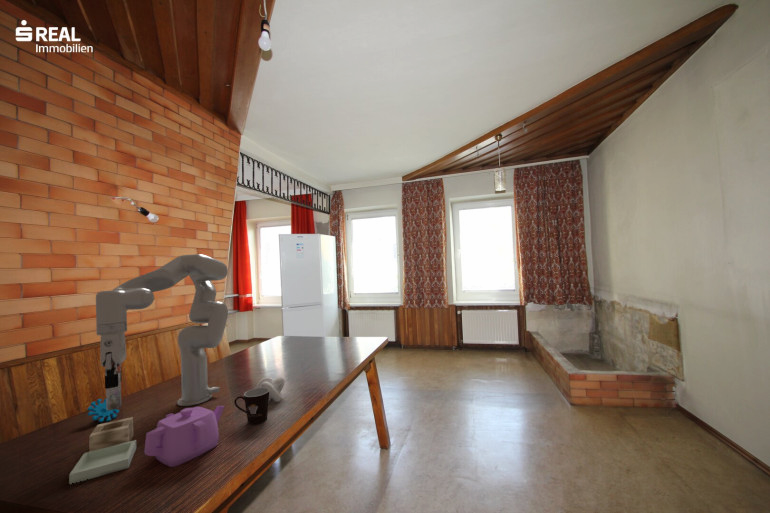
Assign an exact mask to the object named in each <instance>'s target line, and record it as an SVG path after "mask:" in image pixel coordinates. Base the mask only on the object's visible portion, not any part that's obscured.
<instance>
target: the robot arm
mask: <svg viewBox="0 0 770 513" xmlns="http://www.w3.org/2000/svg"><path fill="white" fill-rule="evenodd" d="M228 270H229V268H228V267H227V265H226V264H225V263H224V262H223V261H221V260H218V259H216V258H213V257H211V256H209V255H206V254H200V253H199V254H197V253H196V254H183V255H180V256H177V257H176V258H173V259H172V260H171V261H169V262H167V263H165V264H164V265H162V266H160V267H159V268H157V269H155V270H152V271H150V272H147V273H145V274H142V275H140V276H137V277H134V278H131V279H130V280H127V281H125V282H123V283H121V284H120V285H117V286H116V287H115V288H113V289H112V290H111V289H110V290H102V291H98V292H97V293H96V294H95V316H96V317H95V321H96V322H95V323H96V325H95V326H96V328H95V329H96V330H95V331H96V336H100V342H99V343H100V345H99V348H100V350H99V351H100V357H99V358H100V366H101V367H103V368H104V389H105V390H106V389H108V388H113V387H118V385H119V383H118V374H117V365H120V373H121V374H122V363H123V362H124V361H125V360H126V359H127V347H126V346H127V345H126V343H127V342H126V334H125V333H126V332H128V315H127V313H128V312H127V311H129V310H131V311H132V310H134V311H135V310H136V311H137V310H143V309H146V308H148V307H150V306H151V305H152V304H153V303H154V301H155V294H154V293H156V292H161V291H164V290H168V289H170V288H172V287H174V286H175V285H176V284H178V283H179V282H181V281H182V280H184V279H185V278H187V277H188V276H189V278H190V280H191V282H193V285H194V288H195V290H194V292H195V293H194V296H193V300H192V304H191V306H190V309H189V315H188V318H189V320H190V322H191V323H194V324H207V325H190V326H186V327H184V328H182V329H181V330H180V331H179V333H178V335H177V342H178V347H179V351H180V352H179V353H180V364H181V366H180V367H181V368H180V370H181V371H180V375H181V378H180V379H181V382H180V383H181V397H180V398H179V399H178V400H177V401H176V402H177V405H178V406H180V407H189V406H190V407H191V406H196V405H199V404H203V403H205V402H207V401H209V400H211V398H212V396H213V395H212V394H213V393H214V394H215V393H220V386H219V387H218V386H213V387H209V384H208V355H207V352H206V351H205V349H213V348H214V349H215V348H216V347H218V346H219V345H220V344H221V342H222V339H223V337H224V334H225V329H226V325H227V319H228V316H229V309H228V306H227V304H226V303H224V302H223V301H219V300H217V301H216V297H217V289H216V287H215V286H214V284H213V283H212V282H213V281H214V282H215V281H222V280H224V279H226V277H227V276H228V273H229V271H228ZM113 367H114V368H113ZM122 377H123V376H121V382H122V381H123V380H122Z"/></svg>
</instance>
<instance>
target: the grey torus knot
mask: <svg viewBox="0 0 770 513" xmlns="http://www.w3.org/2000/svg"><path fill="white" fill-rule="evenodd" d="M285 382H286V381H285V378H283V377H282V376H281V377H280V376H279V377H277V378H276V379H275V380H274V379H273V378H271V377H267V376H266V377H263V378H261V379H260V380H259V381H258V383H257V384H256V387H255V388H268V389H269V402H270V401H271V400H272V401H274V402H275V403H279V402H281V401H282V399H283V396H282V393H281V391H282V390H283V388H284V387H285Z"/></svg>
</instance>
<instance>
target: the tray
mask: <svg viewBox="0 0 770 513" xmlns="http://www.w3.org/2000/svg"><path fill="white" fill-rule="evenodd" d="M136 450H137V439H134V440H131V441H130V442H126V443H122V444H118V445H114V446H110V447H106V448H102V449H98V450H94V451H90V452H89V451H86V452H84V453H83V454H82V456H81V457H80V459H78V462H77V463H76V464H75V466H74V467H73V468H72V470H71V471H70V473H69V475H68V479H69V480H68V484H70V485H73V484H72V483H74V484H77V483H80V481H81V482H84V481H88V480H91V479H95V478H98V477H101V476H106V475H109V474H112V473H115V472H118V471H123V470H125V469H129V468H130V465H131V463H132V461H133V457H134V456H135V453H136ZM87 479H88V480H87ZM76 482H77V483H76Z"/></svg>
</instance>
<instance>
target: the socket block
mask: <svg viewBox="0 0 770 513" xmlns="http://www.w3.org/2000/svg"><path fill="white" fill-rule="evenodd" d="M133 436H134V416H132V417H127V418H122V419H119V420H113V421H107V422H104V423H103V422H102V423H100V424H97V425H96V426H95V427H94V429H93V430H92V432H91V433H90V435H89V440H88V441H89V444H88V445H89V446H88V450H89V451H88V452H90V451H94V450H98V449H102V448H106V447H110V446H114V445H118V444H122V443H126V442H130V441H132V439H133Z"/></svg>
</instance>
